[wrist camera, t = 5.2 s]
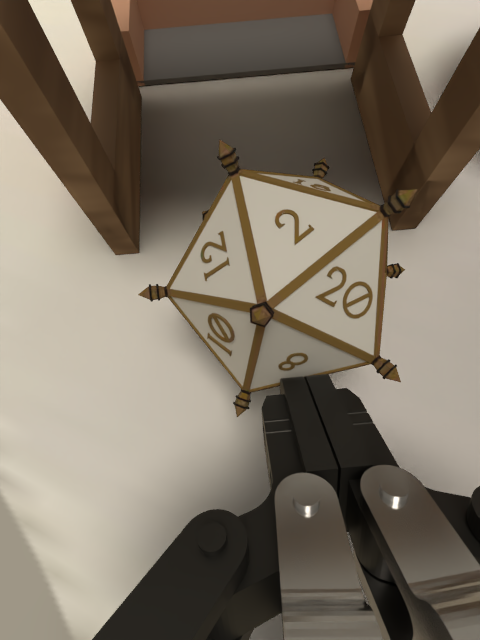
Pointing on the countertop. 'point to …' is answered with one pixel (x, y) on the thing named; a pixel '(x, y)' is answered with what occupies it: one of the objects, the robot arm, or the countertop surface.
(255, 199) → the game die
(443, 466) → the countertop surface
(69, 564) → the countertop surface
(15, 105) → the tunnel
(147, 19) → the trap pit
